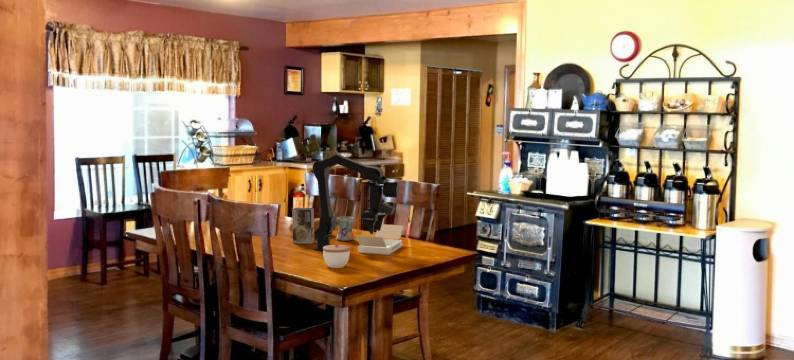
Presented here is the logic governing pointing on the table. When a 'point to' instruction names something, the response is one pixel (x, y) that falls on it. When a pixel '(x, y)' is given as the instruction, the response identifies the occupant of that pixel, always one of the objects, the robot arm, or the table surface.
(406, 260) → the table surface
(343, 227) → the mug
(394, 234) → the far flap
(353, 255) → the table surface
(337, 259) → the lidded jar
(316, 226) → the bread
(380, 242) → the near flap
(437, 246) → the table surface
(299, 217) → the coffee box
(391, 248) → the carton
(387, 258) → the table surface
